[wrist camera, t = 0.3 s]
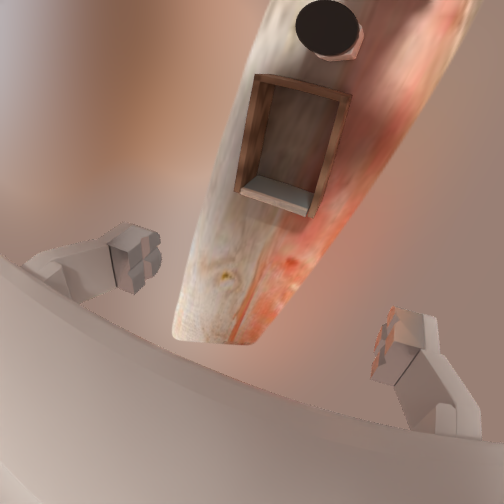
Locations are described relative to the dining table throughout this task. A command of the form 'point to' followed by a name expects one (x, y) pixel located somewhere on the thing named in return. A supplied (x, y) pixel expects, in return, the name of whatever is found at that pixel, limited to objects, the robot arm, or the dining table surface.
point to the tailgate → (278, 194)
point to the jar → (329, 30)
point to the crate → (258, 124)
